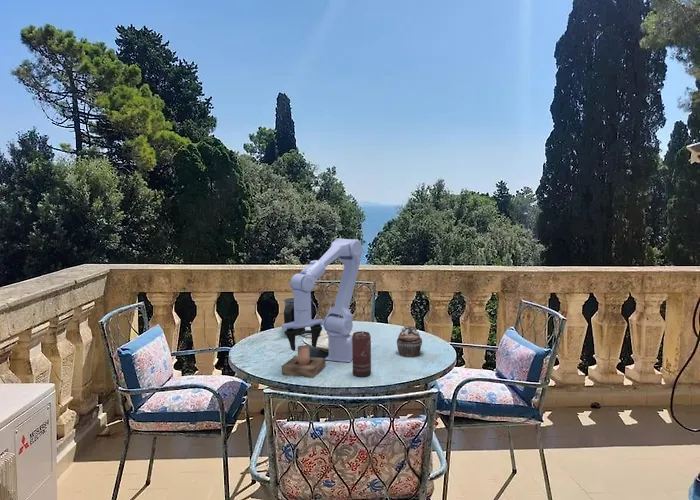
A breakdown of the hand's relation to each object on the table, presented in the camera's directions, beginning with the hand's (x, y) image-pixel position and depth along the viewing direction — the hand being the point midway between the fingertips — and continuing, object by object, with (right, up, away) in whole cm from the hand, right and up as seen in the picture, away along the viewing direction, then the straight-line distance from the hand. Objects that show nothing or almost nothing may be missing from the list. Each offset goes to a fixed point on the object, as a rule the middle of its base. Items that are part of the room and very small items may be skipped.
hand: (303, 348), depth 178 cm
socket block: (0, -8, +1) cm, 8 cm away
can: (+20, -8, -3) cm, 22 cm away
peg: (0, -8, +1) cm, 8 cm away
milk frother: (-5, -3, +47) cm, 48 cm away
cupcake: (+38, -6, +18) cm, 42 cm away
